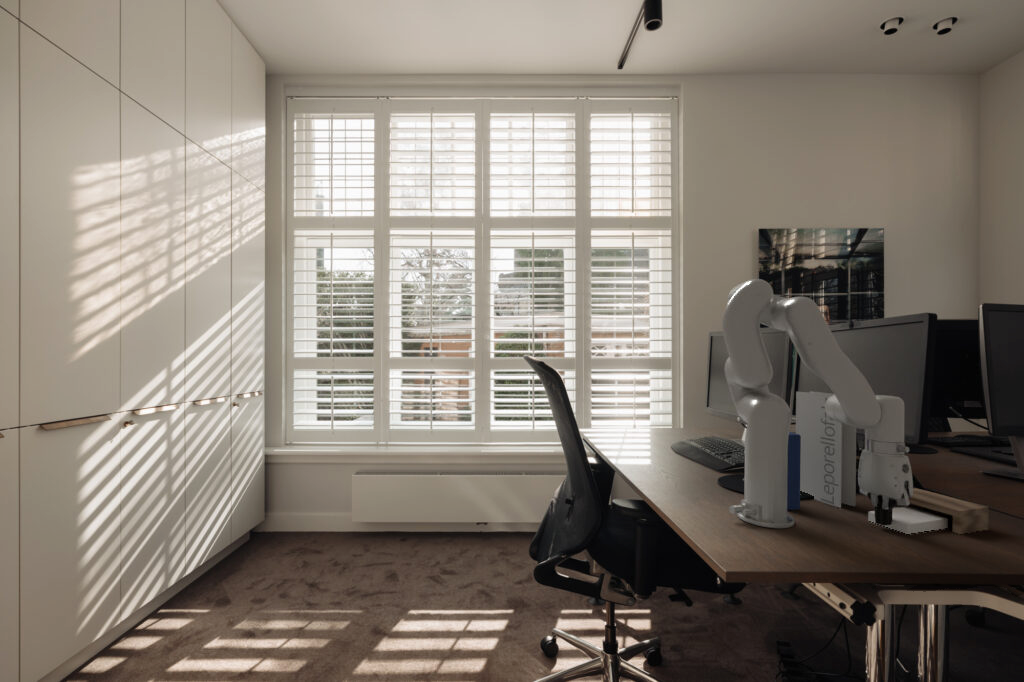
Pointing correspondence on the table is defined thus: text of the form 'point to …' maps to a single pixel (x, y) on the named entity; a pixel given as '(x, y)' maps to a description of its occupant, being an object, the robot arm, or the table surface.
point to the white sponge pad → (913, 520)
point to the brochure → (825, 452)
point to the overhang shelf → (951, 510)
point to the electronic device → (793, 471)
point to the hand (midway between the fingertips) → (883, 523)
